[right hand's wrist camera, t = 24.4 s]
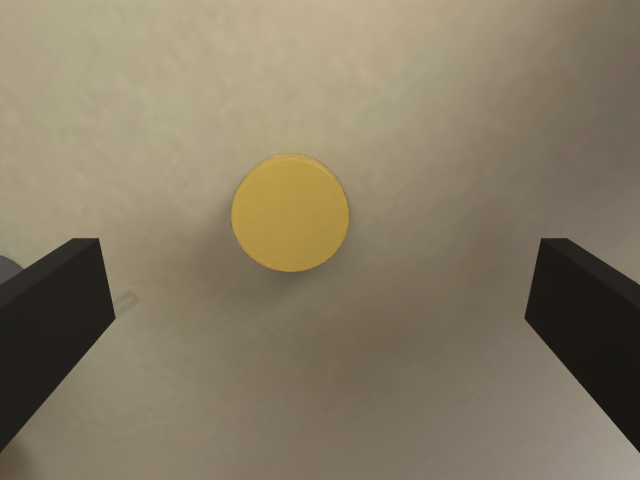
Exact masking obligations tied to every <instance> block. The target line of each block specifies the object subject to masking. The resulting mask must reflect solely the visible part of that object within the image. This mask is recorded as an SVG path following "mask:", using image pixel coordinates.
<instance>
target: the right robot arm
mask: <svg viewBox="0 0 640 480" xmlns="http://www.w3.org/2000/svg"><path fill="white" fill-rule="evenodd" d="M115 319H116V318H115V313H114V308H113V304H112V299H111V294H110V289H109V285H108V280H107V275H106V270H105V266H104V261H103V256H102V251H101V247H100V242H99V238H73V239H71V240H70V241H68V242H66V243H65V244H63V245H62V246H60V247H59V248H57V249H55V250H54V251H52V252H51V253H49V254H48V255H46V256H45V257H43V258H41V259H40V260H38V261H37V262H35V263H34V264H32V265H30V266H29V267H27V268H26V269H24V270H23V271H21V272H20V273H18V274H16V275H15V276H13V277H12V278H10V279H9V280H7V281H5V282H4V283H2V284H1V285H0V453H1V452H2V450H3V449H4V448H5V447H6V446H7V445H8V443H9V442H10V441H11V440H12V439H13V438H14V436H15V435H16V434H17V433H18V432H19V431H20V429H21V428H22V427H23V426H24V425H25V424H26V422H27V421H28V420H29V419H30V418H31V417H32V415H33V414H34V413H35V412H36V411H37V410H38V408H39V407H40V406H41V405H42V404H43V403H44V401H45V400H46V399H47V398H48V397H49V396H50V394H51V393H52V392H53V391H54V390H55V389H56V387H57V386H58V385H59V384H60V383H61V382H62V380H63V379H64V378H65V377H66V376H67V375H68V373H69V372H70V371H71V370H72V369H73V368H74V366H75V365H76V364H77V363H78V362H79V361H80V359H81V358H82V357H83V356H84V355H85V354H86V352H87V351H88V350H89V349H90V348H91V347H92V345H93V344H94V343H95V342H96V341H97V340H98V338H99V337H100V336H101V335H102V334H103V333H104V331H105V330H106V329H107V328H108V327H109V326H110V324H111V323H112V322H113V321H114V320H115ZM524 319H525V320H526V321H527V322H528V323H529V324H530V326H531V327H532V328H533V329H534V330H535V331H536V333H537V334H538V335H539V336H540V337H541V338H542V340H543V341H544V342H545V343H546V344H547V345H548V347H549V348H550V349H551V350H552V351H553V352H554V354H555V355H556V356H557V357H558V358H559V359H560V361H561V362H562V363H563V364H564V365H565V366H566V368H567V369H568V370H569V371H570V372H571V373H572V375H573V376H574V377H575V378H576V379H577V380H578V382H579V383H580V384H581V385H582V386H583V387H584V389H585V390H586V391H587V392H588V393H589V394H590V396H591V397H592V398H593V399H594V400H595V401H596V403H597V404H598V405H599V406H600V407H601V408H602V410H603V411H604V412H605V413H606V414H607V415H608V417H609V418H610V419H611V420H612V421H613V422H614V424H615V425H616V426H617V427H618V428H619V429H620V431H621V432H622V433H623V434H624V435H625V436H626V438H627V439H628V440H629V441H630V442H631V443H632V445H633V446H634V447H635V448H636V449H637V450H638V452H639V453H640V285H639V284H638V283H636V282H635V281H633V280H631V279H630V278H628V277H627V276H625V275H624V274H622V273H620V272H619V271H617V270H616V269H614V268H613V267H611V266H610V265H608V264H606V263H605V262H603V261H602V260H600V259H599V258H597V257H595V256H594V255H592V254H591V253H589V252H588V251H586V250H585V249H583V248H581V247H580V246H578V245H577V244H575V243H574V242H572V241H570V240H569V239H567V238H541V242H540V247H539V251H538V256H537V261H536V266H535V270H534V275H533V280H532V285H531V289H530V294H529V299H528V304H527V308H526V313H525V318H524Z"/></svg>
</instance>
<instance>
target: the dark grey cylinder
mask: <svg viewBox="0 0 640 480" xmlns="http://www.w3.org/2000/svg"><path fill="white" fill-rule="evenodd" d="M21 271H23V269H22V268H21V267H19V266H18V265H17V264H16V263H14V262H12V261H11V260H9V259H7V258H5V257H2V256H0V285H1V284H2V283H4V282H5V281H7V280H9V279H10V278H12V277H13V276H15V275H16V274H18V273H20V272H21Z"/></svg>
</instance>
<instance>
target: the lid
mask: <svg viewBox="0 0 640 480" xmlns="http://www.w3.org/2000/svg"><path fill="white" fill-rule="evenodd" d="M231 223H232V228H233V231H234V234H235V237H236V239H237V241H238V243H239V244H240V246H241V247H242V249H243V250H244V251H245V252H246V253H247V254H248V255H249V256H250V257H251V258H252V259H254V260H255V261H256V262H258V263H259V264H261V265H263V266H265V267H268V268H270V269H273V270H277V271H283V272H298V271H304V270H308V269H311V268H314V267H316V266H318V265H320V264H322V263H324V262H325V261H326V260H328V259H329V258H330V257H331V256H332V255H333V254H334V253H335V252H336V251H337V250H338V249H339V247H340V246H341V244H342V242H343V240H344V238H345V236H346V233H347V230H348V225H349V208H348V203H347V199H346V197H345V194H344V191H343V189H342V186H341V184H340V182H339V181H338V179H337V177H336V176H335V175H334V174H333V172H332V171H331V170H330V169H329V168H328V167H326V166H325V165H324V164H322V163H321V162H319V161H317V160H316V159H313V158H311V157H308V156H304V155H300V154H281V155H276V156H273V157H270V158H268V159H265V160H263V161H262V162H260V163H258V164H257V165H256V166H255V167H253V168H252V169H251V170H250V171H249V172H248V174H247V175H246V176H245V178H244V179H243V181H242V182H241V184H240V186H239V187H238V189H237V191H236V193H235V196H234V199H233V202H232V207H231Z"/></svg>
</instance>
